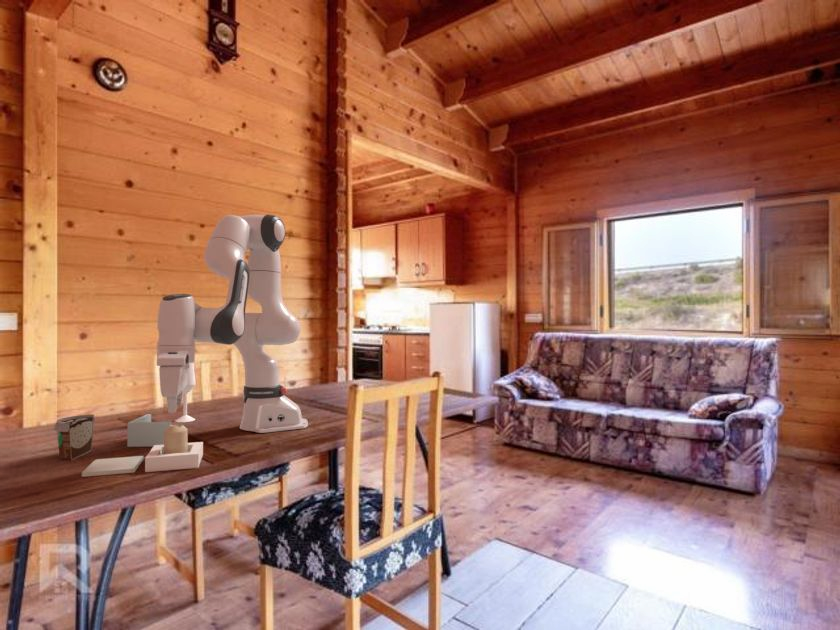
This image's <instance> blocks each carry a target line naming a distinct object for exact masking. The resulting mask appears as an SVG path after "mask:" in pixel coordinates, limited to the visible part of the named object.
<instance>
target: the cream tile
mask: <svg viewBox="0 0 840 630" xmlns="http://www.w3.org/2000/svg"><path fill="white" fill-rule="evenodd" d="M143 461H144V455H135V456H134V455H133V456H124V457H123V456H122V457H120V456H119V457H110V458H109V457H108V458H106V457H105V458H97V459H94V460H93V461H92V462H91V463H90V464H89V465H88V466H87V467H86V468H84V470H82V472H81V477H82V478H83V477H84V478H85V477H94V476H95V477H96V476H107V475H110V476H111V475H119V474H129V473H131V474H132V473H135V472H136V471H137V469H138V468H139V466H140V465H141V464H142V462H143Z"/></svg>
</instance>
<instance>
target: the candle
mask: <svg viewBox="0 0 840 630" xmlns="http://www.w3.org/2000/svg"><path fill="white" fill-rule="evenodd" d="M188 431H189V430H188V428H187V427H186V426H185V425H184V424H183V423H175V424H171V425H170V426H169V427H168V428H167V429H166V430H165V431H164V454H173V453H186V452H187V445H188V443H189V442H188V441H189V440H188V437H189V436H188Z"/></svg>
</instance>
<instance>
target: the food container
mask: <svg viewBox="0 0 840 630" xmlns="http://www.w3.org/2000/svg"><path fill="white" fill-rule="evenodd" d="M95 421H96V418H95V414H81V415H79V414H78V415H73V416H67V417H62V418H59V419H57V420H56V422H55V423H54V428H53V431H55V432H56V433H57V445H58V453H59V454H58V455H59V456H58V457H59V459H60V460H61V461H67V462H69V461H70V462H71V461H74V460H76V459H78V458H79V457H81V456H84V455H87V454H88V453H89V452H92V450H93V439H94V438H93V436H94V422H95Z"/></svg>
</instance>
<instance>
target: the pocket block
mask: <svg viewBox="0 0 840 630" xmlns="http://www.w3.org/2000/svg"><path fill="white" fill-rule="evenodd" d="M203 456H204V441H195V442H188V445H187V452H186V453H173V454H164V445H154V446H152V447H151V449H150V451H148V454H147V455H146V456H145V458H144V459H145V461H144V463H145V464H144V473H151V472H161V471H163V472H164V471H173V470H174V471H175V470H186V469H187V470H189V469H199V467H200V465H201V461H202V459H203Z"/></svg>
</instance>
